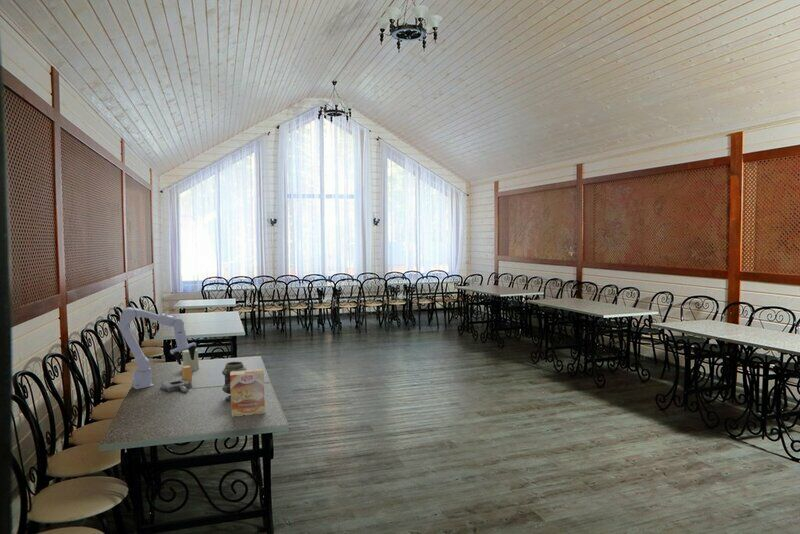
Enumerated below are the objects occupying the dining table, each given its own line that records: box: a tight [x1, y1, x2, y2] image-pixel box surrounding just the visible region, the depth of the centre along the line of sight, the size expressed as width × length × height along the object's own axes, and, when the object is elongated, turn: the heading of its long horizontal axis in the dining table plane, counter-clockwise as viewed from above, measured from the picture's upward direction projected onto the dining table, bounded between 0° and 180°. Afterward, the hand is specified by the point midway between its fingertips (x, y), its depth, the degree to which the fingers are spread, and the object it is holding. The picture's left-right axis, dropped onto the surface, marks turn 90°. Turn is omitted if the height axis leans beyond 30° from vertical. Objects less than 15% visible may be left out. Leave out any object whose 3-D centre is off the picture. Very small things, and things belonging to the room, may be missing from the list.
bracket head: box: [160, 378, 193, 394], centre depth 296 cm, size 12×20×2 cm, turn 41°
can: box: [181, 348, 200, 372], centre depth 336 cm, size 9×9×12 cm
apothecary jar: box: [221, 360, 248, 402], centre depth 277 cm, size 12×12×18 cm
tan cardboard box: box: [181, 365, 193, 382], centre depth 311 cm, size 4×4×8 cm
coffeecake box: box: [230, 368, 266, 418], centre depth 255 cm, size 15×7×20 cm, turn 106°
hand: (186, 362), depth 311 cm, fingers open, 7 cm apart
